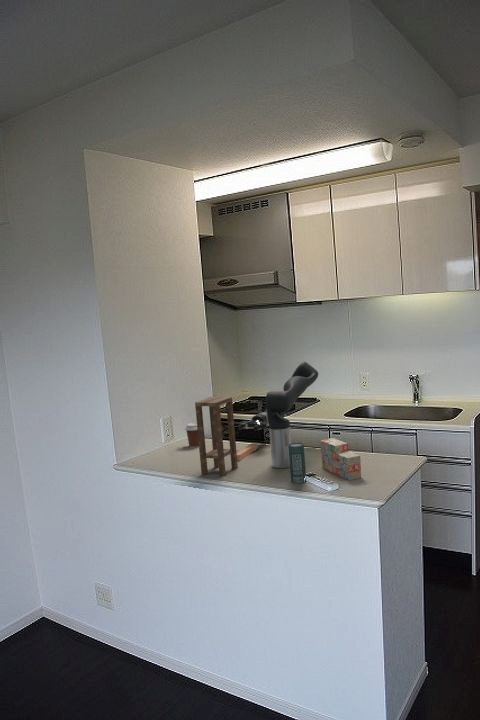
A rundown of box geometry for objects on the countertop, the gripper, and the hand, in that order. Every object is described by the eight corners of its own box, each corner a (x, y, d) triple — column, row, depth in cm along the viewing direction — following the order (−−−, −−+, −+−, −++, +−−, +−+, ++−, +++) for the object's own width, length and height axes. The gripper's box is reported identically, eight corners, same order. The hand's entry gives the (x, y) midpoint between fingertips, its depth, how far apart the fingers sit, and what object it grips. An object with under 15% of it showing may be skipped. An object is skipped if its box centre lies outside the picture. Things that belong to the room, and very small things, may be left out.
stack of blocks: (361, 478, 226) (360, 447, 224) (348, 481, 223) (346, 450, 222) (334, 465, 246) (332, 437, 244) (321, 467, 243) (320, 439, 242)
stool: (237, 467, 253) (231, 397, 250) (223, 476, 242) (217, 402, 238) (216, 466, 258) (210, 396, 255) (201, 474, 247) (195, 402, 243)
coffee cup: (204, 447, 293) (202, 424, 292) (187, 449, 292) (185, 426, 291) (203, 443, 302) (201, 421, 301) (186, 445, 301) (184, 423, 300)
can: (306, 478, 230) (303, 442, 229) (306, 483, 224) (303, 446, 223) (291, 478, 231) (288, 442, 230) (290, 483, 225) (287, 446, 224)
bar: (252, 449, 284) (251, 443, 284) (257, 449, 283) (257, 443, 282) (234, 461, 265) (233, 454, 265) (240, 461, 264) (239, 455, 263)
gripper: (274, 428, 284) (260, 436, 270) (249, 427, 291) (234, 435, 277) (273, 413, 284) (259, 421, 269) (248, 413, 290) (233, 420, 276)
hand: (246, 428), depth 273 cm, fingers open, 8 cm apart
